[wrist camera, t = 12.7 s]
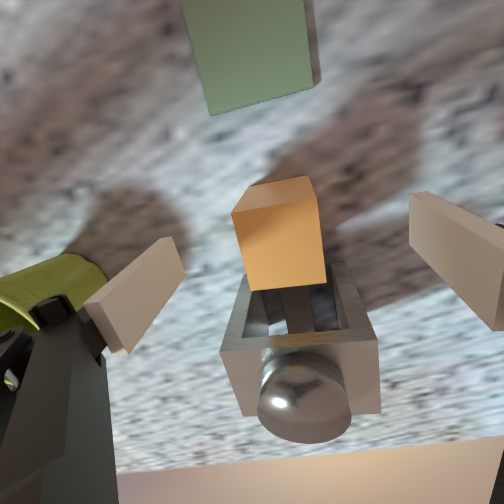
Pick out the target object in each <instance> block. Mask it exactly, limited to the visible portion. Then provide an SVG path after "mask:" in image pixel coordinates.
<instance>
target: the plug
mask: <svg viewBox="0 0 504 504" xmlns="http://www.w3.org/2000/svg"><path fill="white" fill-rule="evenodd" d="M231 215H232V219H233V223H234V227H235V231H236V235H237V239H238V243H239V247H240V251H241V255H242V259H243V262H244V266H245V270H246V274H247V278H248V282H249V286H250V290H251V291H256V290H265V289H274V288H279V289H280V294H281V299H282V304H283V309H284V314H285V319H286V324H287V329H288V334H298V333H309V332H315V327H314V320H313V313H312V306H311V300H310V293H309V286H308V285H310V284H319V283H327V282H326V273H325V264H324V256H323V247H322V238H321V230H320V221H319V212H318V204H317V197H316V194H315V192H314V189H313V187H312V184H311V181H310V179H309V176H308V175H304V176H299V177H294V178H289V179H284V180H279V181H274V182H269V183H264V184H258V185H253V186H249V187H248V189H247V190H246V192H245V193H244V194H243V196H242V197H241V199H240V200H239V202H238V203H237V205H236V206H235V208H234V209H233V211H232V212H231Z"/></svg>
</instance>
